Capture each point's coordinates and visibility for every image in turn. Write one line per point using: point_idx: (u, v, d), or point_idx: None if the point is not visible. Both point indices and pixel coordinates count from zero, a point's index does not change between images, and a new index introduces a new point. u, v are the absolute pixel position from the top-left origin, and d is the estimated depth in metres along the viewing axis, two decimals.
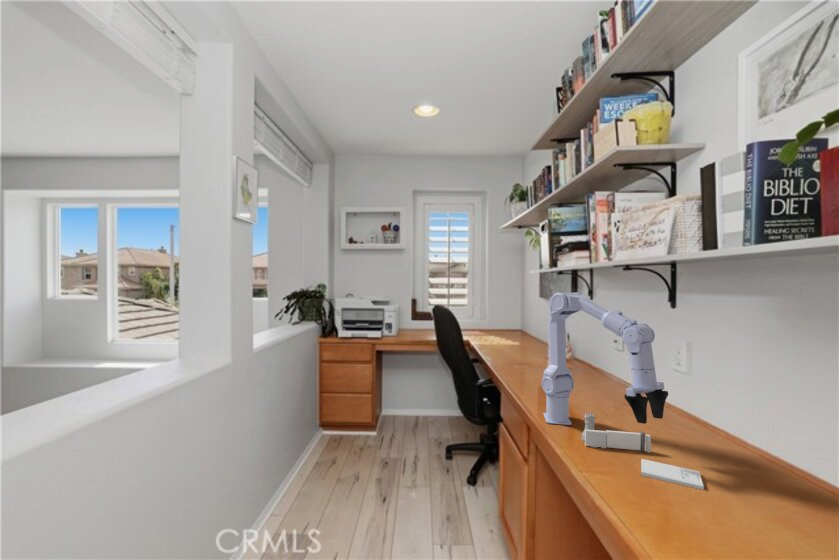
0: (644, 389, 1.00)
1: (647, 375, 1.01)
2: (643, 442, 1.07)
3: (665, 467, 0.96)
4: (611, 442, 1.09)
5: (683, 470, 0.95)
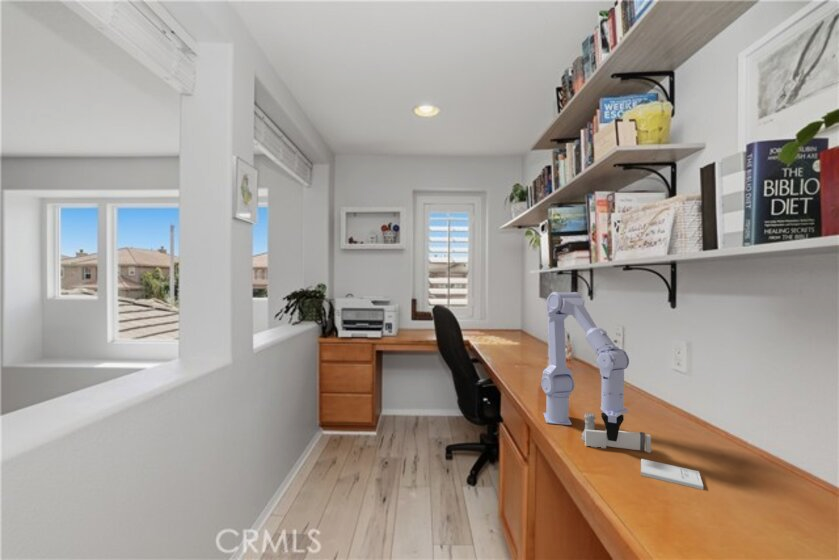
0: (620, 414, 1.04)
1: (621, 400, 1.06)
2: (643, 442, 1.07)
3: (664, 467, 0.96)
4: (610, 441, 1.09)
5: (683, 470, 0.95)
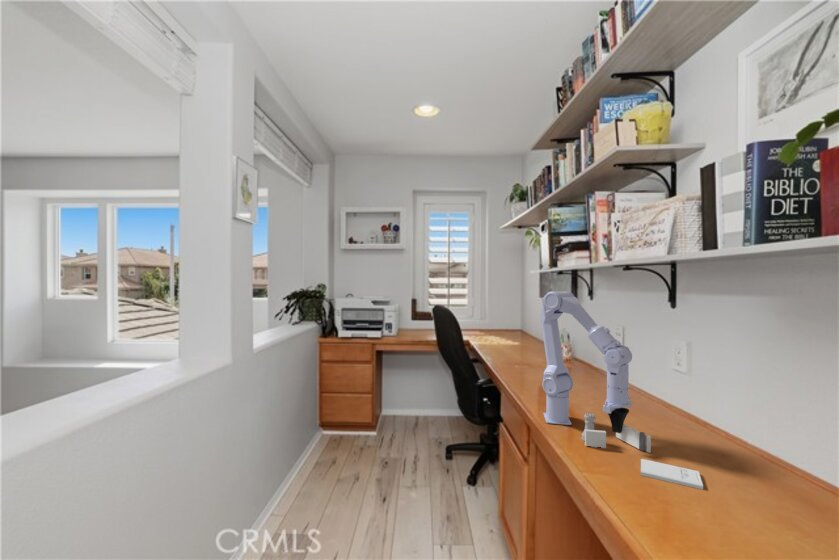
0: (618, 407, 1.10)
1: (622, 394, 1.11)
2: (641, 442, 1.07)
3: (664, 467, 0.96)
4: (618, 433, 1.15)
5: (683, 470, 0.95)
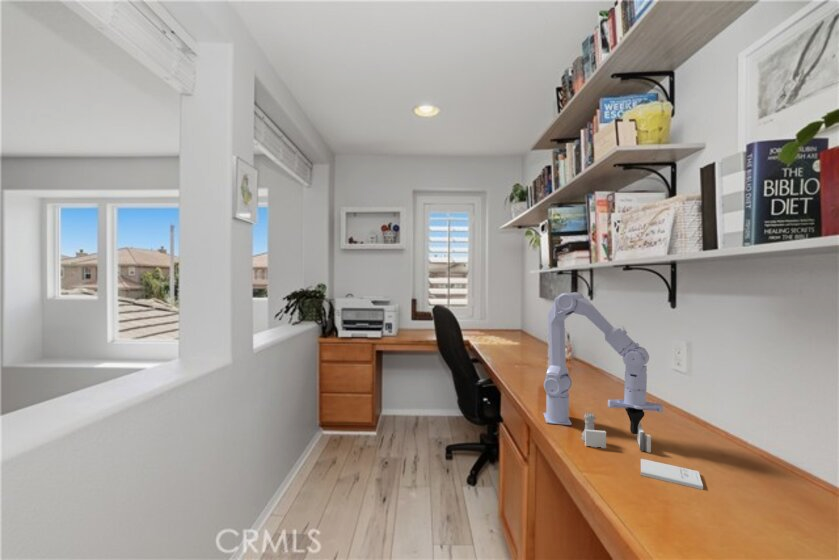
0: (623, 405, 1.13)
1: (631, 394, 1.13)
2: (640, 441, 1.07)
3: (664, 467, 0.96)
4: (637, 433, 1.15)
5: (682, 470, 0.95)
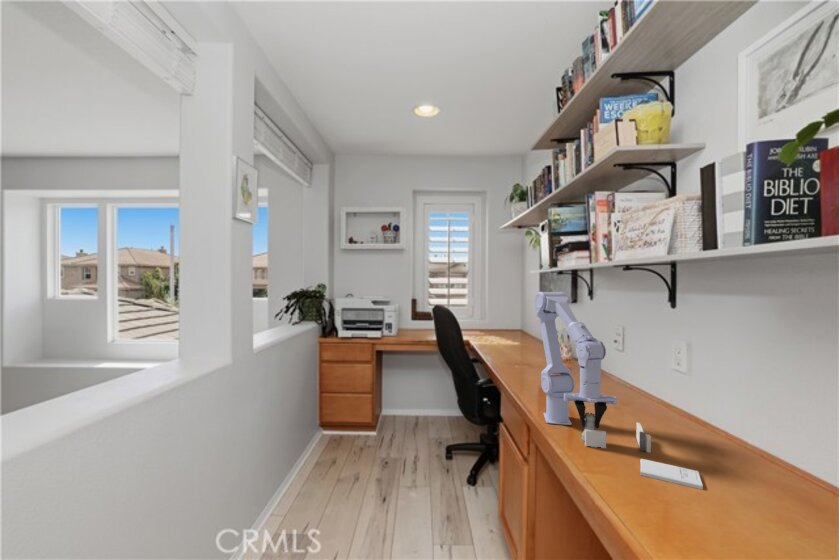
0: (578, 398, 1.13)
1: (585, 387, 1.12)
2: (640, 441, 1.07)
3: (664, 467, 0.96)
4: (636, 433, 1.15)
5: (682, 470, 0.95)
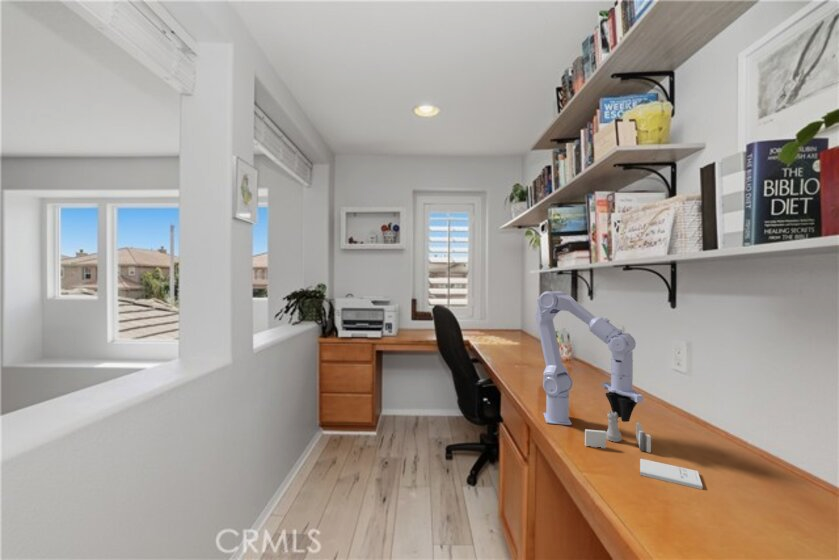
0: (607, 387, 1.18)
1: (611, 377, 1.16)
2: (640, 441, 1.07)
3: (664, 467, 0.96)
4: (636, 433, 1.15)
5: (682, 470, 0.95)
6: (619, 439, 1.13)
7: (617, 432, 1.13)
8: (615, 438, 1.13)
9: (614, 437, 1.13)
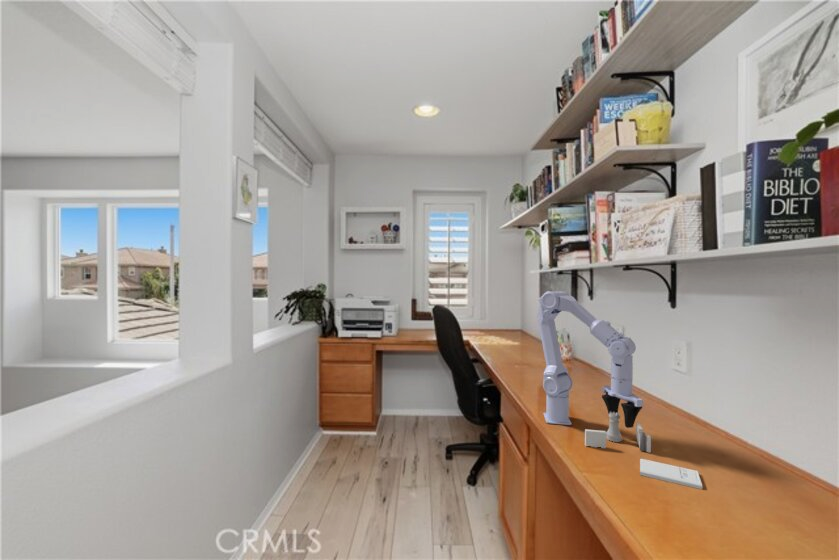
0: (607, 390, 1.18)
1: (611, 381, 1.16)
2: (640, 441, 1.07)
3: (663, 466, 0.96)
4: (636, 433, 1.15)
5: (682, 470, 0.95)
6: (619, 440, 1.13)
7: (617, 432, 1.13)
8: (615, 438, 1.13)
9: (614, 437, 1.13)
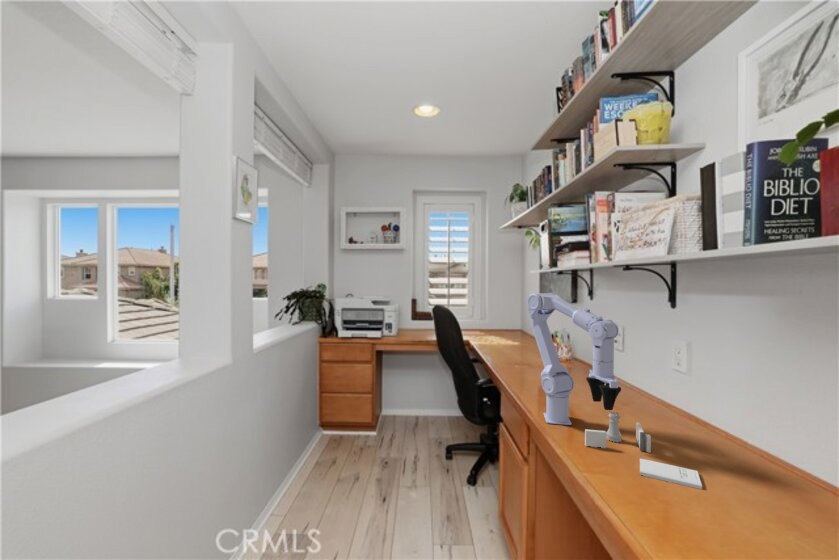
0: (591, 373, 1.19)
1: None
2: (640, 441, 1.07)
3: (663, 466, 0.96)
4: (636, 433, 1.15)
5: (681, 469, 0.95)
6: (619, 440, 1.13)
7: (617, 432, 1.13)
8: (615, 438, 1.13)
9: (614, 437, 1.13)
